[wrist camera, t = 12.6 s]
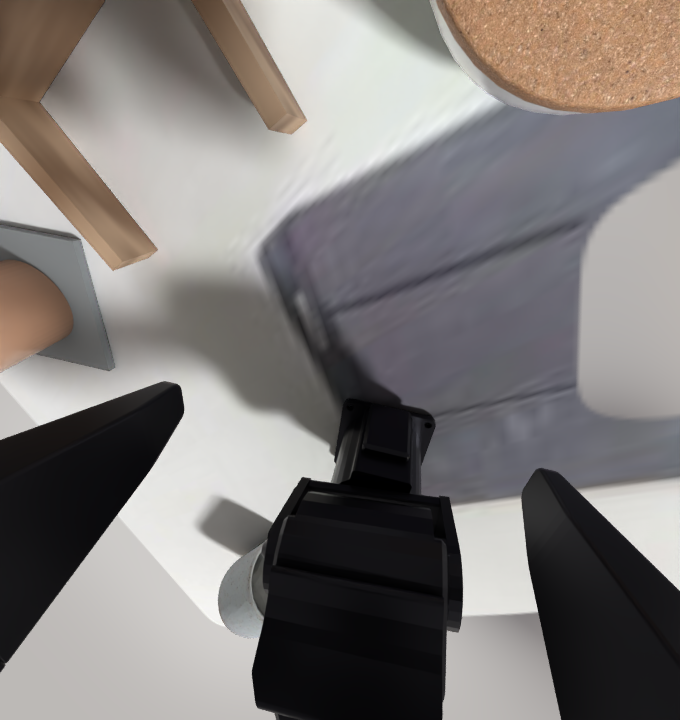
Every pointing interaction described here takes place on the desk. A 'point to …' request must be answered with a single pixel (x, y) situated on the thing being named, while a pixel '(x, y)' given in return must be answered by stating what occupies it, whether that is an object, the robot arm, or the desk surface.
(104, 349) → the slate mat
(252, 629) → the ceramic mug
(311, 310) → the desk surface
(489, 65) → the lidded jar
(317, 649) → the robot arm
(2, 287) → the terracotta pot
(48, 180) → the light wood arch piece
